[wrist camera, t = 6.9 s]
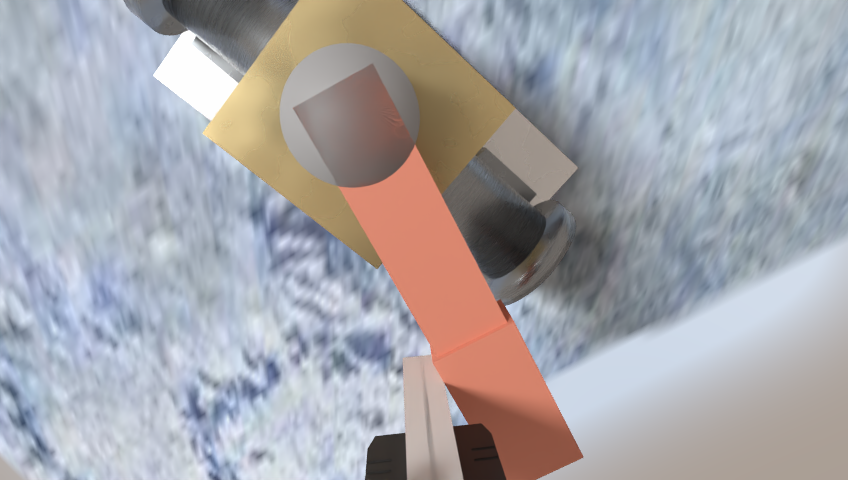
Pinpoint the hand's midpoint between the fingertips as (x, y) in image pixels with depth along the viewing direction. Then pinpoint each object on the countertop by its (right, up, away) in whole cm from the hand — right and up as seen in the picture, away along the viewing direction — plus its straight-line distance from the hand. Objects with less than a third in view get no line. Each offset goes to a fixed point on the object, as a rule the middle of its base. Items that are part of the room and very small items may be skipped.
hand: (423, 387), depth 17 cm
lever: (+1, +4, -1) cm, 5 cm away
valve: (-3, +13, +10) cm, 16 cm away
